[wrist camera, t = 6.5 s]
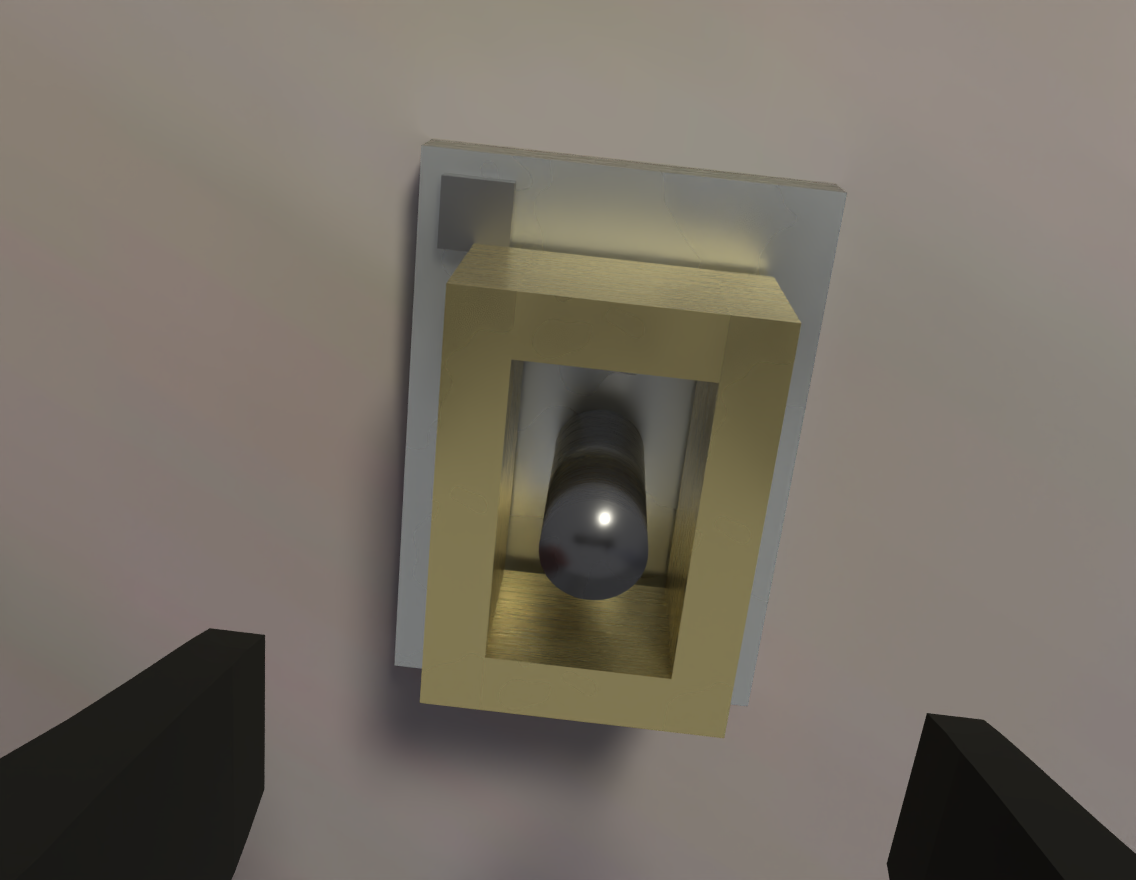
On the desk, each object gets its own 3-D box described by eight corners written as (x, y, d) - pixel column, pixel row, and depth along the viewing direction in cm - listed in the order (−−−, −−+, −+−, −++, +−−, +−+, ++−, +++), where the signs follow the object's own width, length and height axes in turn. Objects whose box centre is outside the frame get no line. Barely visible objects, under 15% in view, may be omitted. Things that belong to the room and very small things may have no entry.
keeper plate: (742, 677, 22) (774, 851, 18) (404, 638, 22) (345, 801, 18) (836, 184, 19) (906, 237, 14) (431, 139, 19) (366, 177, 14)
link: (710, 640, 20) (724, 738, 18) (448, 610, 20) (419, 703, 18) (773, 276, 18) (801, 323, 15) (474, 243, 18) (446, 283, 15)
